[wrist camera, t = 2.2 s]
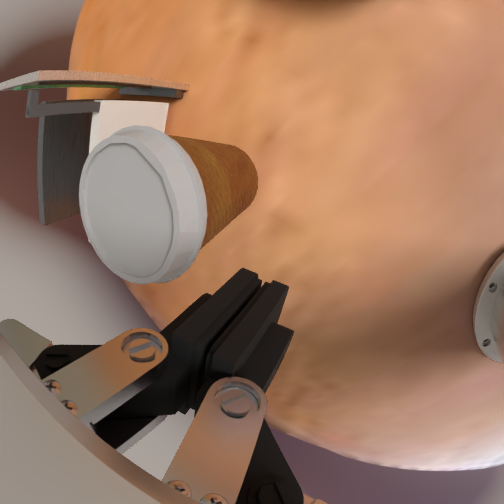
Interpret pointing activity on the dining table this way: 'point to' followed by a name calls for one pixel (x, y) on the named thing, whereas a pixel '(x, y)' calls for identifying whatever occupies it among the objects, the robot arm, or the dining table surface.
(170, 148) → the disposable coffee cup
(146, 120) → the pale grey flat panel
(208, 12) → the dining table surface
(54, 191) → the gauge frame
